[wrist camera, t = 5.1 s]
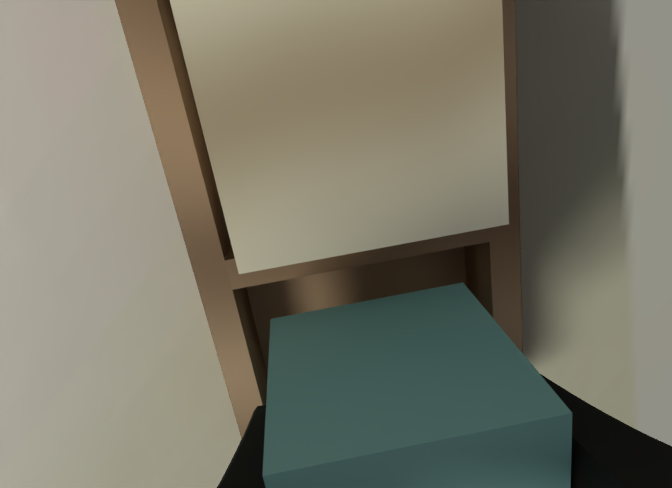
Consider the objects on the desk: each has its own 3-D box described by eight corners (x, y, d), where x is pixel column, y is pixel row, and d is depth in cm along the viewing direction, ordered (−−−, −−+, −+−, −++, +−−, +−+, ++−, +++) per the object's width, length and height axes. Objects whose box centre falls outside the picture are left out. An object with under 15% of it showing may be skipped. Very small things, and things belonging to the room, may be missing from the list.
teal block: (473, 434, 14) (567, 615, 9) (305, 468, 14) (316, 671, 9) (463, 282, 12) (573, 413, 8) (270, 318, 12) (262, 475, 7)
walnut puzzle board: (486, 395, 18) (580, 548, 12) (266, 440, 17) (257, 618, 12) (458, -104, 12) (608, -252, 7) (134, -53, 12) (0, -164, 6)
